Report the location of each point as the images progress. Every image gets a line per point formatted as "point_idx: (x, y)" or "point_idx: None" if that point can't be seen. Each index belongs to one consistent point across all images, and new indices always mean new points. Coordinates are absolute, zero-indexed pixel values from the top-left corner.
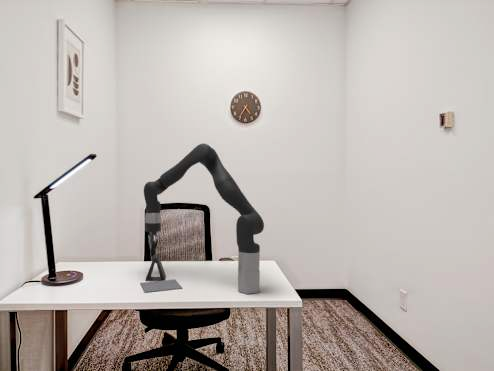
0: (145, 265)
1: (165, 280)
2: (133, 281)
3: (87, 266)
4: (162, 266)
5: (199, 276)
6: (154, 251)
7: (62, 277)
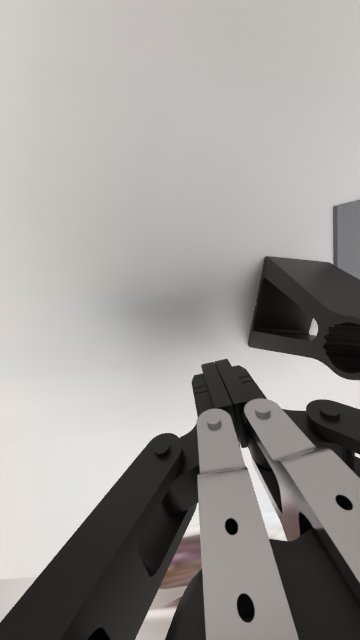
0: (15, 373)
1: (341, 258)
2: (292, 391)
3: (50, 555)
4: (299, 281)
5: (303, 18)
6: (259, 390)
7: (188, 574)
